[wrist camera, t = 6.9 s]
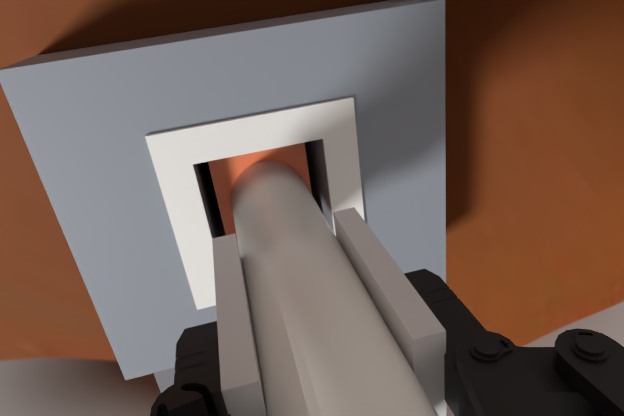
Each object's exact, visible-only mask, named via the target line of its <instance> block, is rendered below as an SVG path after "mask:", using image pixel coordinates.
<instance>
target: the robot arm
mask: <svg viewBox="0 0 624 416" xmlns="http://www.w3.org/2000/svg"><path fill="white" fill-rule="evenodd" d="M333 217H334V225H335V233H336V238H337V240H338V241H339V243H340V245H341V247H342V248H343V250H344V252H345V254H346V255H347V257H348V259H349V261H350V262H351V264H352V266H353V268H354V269H355V271H356V273H357V274H358V276H359V278H360V280H361V281H362V283H363V285H364V287H365V288H366V290H367V292H368V294H369V295H370V297H371V299H372V301H373V302H374V304H375V306H376V308H377V309H378V311H379V313H380V314H381V316H382V318H383V320H384V321H385V323H386V325H387V327H388V328H389V330H390V332H391V334H392V335H393V337H394V339H395V341H396V342H397V344H398V346H399V348H400V349H401V351H402V353H403V355H404V356H405V358H406V360H407V361H408V363H409V365H410V367H411V368H412V370H413V372H414V374H415V375H416V377H417V379H418V381H419V382H420V384H421V386H422V388H423V389H424V391H425V393H426V395H427V396H428V398H429V400H430V401H431V403H432V405H433V407H434V408H435V410H436V412H437V414H438V415H439V416H446V402H447V404H448V406H449V407H450V409H451V410H452V412H453V413H454V415H455V416H624V347H623V346H621V345H620V344H619V343H617V342H616V341H614V340H613V339H611V338H609V337H608V336H606V335H604V334H602V333H599V332H595V331H592V330H587V329H572V330H566V331H565V332H563V333H561V334H560V335H558V338H557V339H556V341H555V347H518V346H515V345H514V344H513V343H512V342H511V340H510V339H508V338H506V337H504V336H502V335H500V334H498V333H494V332H490V331H486V330H485V328H484V327H483V326H482V325H481V324H480V323H479V321H478V320H477V319H476V318H475V317H474V316H473V314H472V313H471V312H470V311H469V310H468V309H467V308H466V306H465V305H464V304H463V303H462V302H461V301H460V299H459V298H458V299H457V296H456V295H455V294H454V292H453V291H452V290H451V289H449V287H448V286H447V284H446V283H445V282H444V281H443V280H442V279H441V277H440V276H438V275H436V274H434V273H432V272H430V271H429V270H427V269H421V270H417V271H412V272H408V273H404V274H403V272H402V271H401V270H400V268H399V267H398V265H397V264H396V263H395V261H394V260H393V259H392V257H391V256H390V255H389V253H388V252H387V251H386V249H385V248H384V247H383V245H382V244H381V243H380V241H379V240H378V238H377V237H376V236H375V234H374V233H373V232H372V230H371V229H370V228H369V226H368V225H367V224H366V222H365V221H364V220H363V218H362V217H361V216H360V214H359V213H358V212H357V210H356V209H355V207H353V208H348V209H344V210H339V211H335V212H333ZM212 245H213V261H214V278H215V295H216V312H217V321H214V322H210V323H206V324H202V325H198V326H194V327H190V328H186V329H184V331H183V333H182V334H181V336H180V338H179V340H178V341H177V343H176V357H175V358H176V361H175V373H174V384H173V385H172V386H170V387H168V388H167V389H166V390H165V391H163V392H162V393H161V394H160V395H159V396H158V397H157V399H156V401H155V402H154V404H153V406H152V408H151V415H150V416H267V412H266V406H265V400H264V394H263V388H262V382H261V376H260V370H259V364H258V358H257V352H256V346H255V339H254V333H253V327H252V321H251V315H250V309H249V303H248V297H247V291H246V285H245V279H244V273H243V267H242V261H241V256H240V252H239V248H238V243H237V239H236V235H235V234H231V235H226V236H222V237H217V238H212Z"/></svg>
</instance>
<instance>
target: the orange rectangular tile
mask: <svg viewBox="0 0 624 416" xmlns="http://www.w3.org/2000/svg"><path fill="white" fill-rule="evenodd" d="M271 160H273V161H279V162H283V163H286V164H288V165H290V166H291V167H293V168H294V169H295V170H296V171H297V172H298V173H299V174H300V176H301V177H302V179H303V181H304V182H305V184H306V186H307V187H308V189H309V191H310V193H311V194H312V192H311V185H310V178H309V171H308V164H307V157H306V150H305V143H299V144H294V145H289V146H284V147H279V148H274V149H269V150H264V151H259V152H254V153H249V154H243V155H238V156H233V157H228V158H223V159H218V160H213V161H208V164H209V168H210V173H211V177H212V181H213V185H214V189H215V193H216V197H217V201H218V205H219V209H220V214H221V218H222V222H223V226H224V230H225V234H226V235H231V234H235V235H236V229H235V223H234V217H233V211H232V205H231V190H232V187H233V184H234V182H235V180H236V178H237V177H238V176H239V175H240V173H241V172H242V171H243V170H245V169H246V168H247V167H249V166H251V165H253V164H255V163H258V162H261V161H271ZM236 239H237V236H236ZM237 243H238V242H237Z"/></svg>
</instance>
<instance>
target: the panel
mask: <svg viewBox="0 0 624 416" xmlns="http://www.w3.org/2000/svg"><path fill="white" fill-rule="evenodd" d="M0 83H1V85H2V88H3V90H4V92H5V95H6V97H7V100H8V102H9V104H10V107H11V109H12V112H13V114H14V116H15V119H16V121H17V123H18V126H19V128H20V131H21V133H22V135H23V138H24V140H25V142H26V145H27V147H28V150H29V152H30V154H31V157H32V159H33V161H34V164H35V166H36V169H37V171H38V173H39V176H40V178H41V180H42V183H43V185H44V188H45V190H46V192H47V195H48V197H49V199H50V202H51V204H52V207H53V209H54V211H55V214H56V216H57V218H58V221H59V223H60V226H61V228H62V230H63V233H64V235H65V237H66V240H67V242H68V245H69V247H70V249H71V252H72V254H73V256H74V259H75V261H76V264H77V266H78V268H79V271H80V273H81V275H82V278H83V280H84V283H85V285H86V287H87V290H88V292H89V294H90V297H91V299H92V302H93V304H94V306H95V309H96V311H97V313H98V316H99V318H100V321H101V323H102V325H103V328H104V330H105V332H106V335H107V337H108V340H109V342H110V344H111V347H112V349H113V351H114V354H115V356H116V359H117V361H118V363H119V366H120V368H121V370H122V373H123V375H124V378H125V380H128V379H131V378H136V377H140V376H144V375H147V374H151V373H155V372H159V371H163V370H167V369H170V368H174V367H175V361H176V358H175V357H176V343H177V341H178V340H179V338H180V336H181V334H182V333H183V331H184V329H186V328H190V327H194V326H198V325H202V324H206V323H210V322H214V321H217V312H216V295H215V278H214V261H213V245H212V238H217V237H222V236H226V234H225V230H224V227H220V228H217V226H216V222H215V218H214V214H213V210H212V206H211V202H210V198H209V194H208V190H207V186H206V182H205V178H204V174H203V170H202V166H201V163H203V162H208V161H213V160H218V159H223V158H228V157H233V156H238V155H243V154H249V153H254V152H259V151H264V150H269V149H274V148H279V147H284V146H289V145H294V144H299V143H305V150H306V157H307V164H308V171H309V178H310V185H311V192H312V196H313V198H314V200H315V201H316V203H317V205H318V207H319V208H320V210H321V212H322V214H323V215H324V217H325V219H326V221H327V222H328V224H329V226H330V227H331V229H332V231H333V233H334V234H335V236H336V233H335V225H334V217H333V212H335V211H339V210H344V209H348V208H353V207H355V209H356V210H357V212H358V213H359V214H360V216H361V217H362V218H363V220H364V221H365V222H366V224H367V225H368V226H369V228H370V229H371V230H372V232H373V233H374V234H375V236H376V237H377V238H378V240H379V241H380V243H381V244H382V245H383V247H384V248H385V249H386V251H387V252H388V253H389V255H390V256H391V257H392V259H393V260H394V261H395V263H396V264H397V265H398V267H399V268H400V270H401V271H402V272H403V274H404V273H408V272H412V271H417V270H421V269H427V270H429V271H430V272H432V273H434V274H436V275H438V276H440V277H441V279H442V280H443V281H444V282H445V283H446V122H445V0H388V1H381V2H375V3H369V4H362V5H356V6H349V7H343V8H337V9H330V10H324V11H317V12H311V13H304V14H298V15H292V16H285V17H279V18H272V19H266V20H260V21H253V22H247V23H240V24H234V25H228V26H221V27H215V28H208V29H202V30H196V31H189V32H183V33H176V34H170V35H164V36H157V37H151V38H144V39H138V40H132V41H125V42H119V43H112V44H106V45H100V46H93V47H87V48H80V49H74V50H67V51H61V52H55V53H48V54H42V55H36V56H34V57H31V58H28V59H25V60H23V61H20V62H17V63H15V64H12V65H9V66H7V67H4V68H1V69H0Z"/></svg>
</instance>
